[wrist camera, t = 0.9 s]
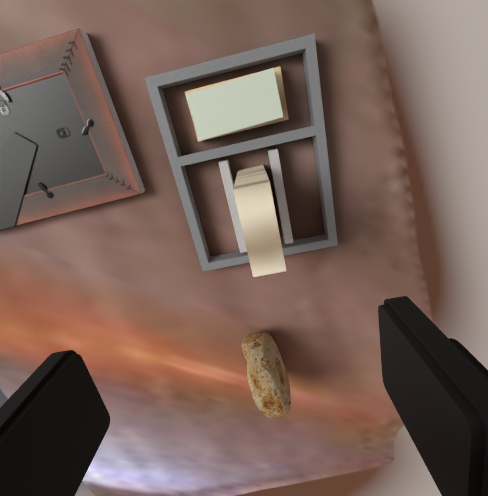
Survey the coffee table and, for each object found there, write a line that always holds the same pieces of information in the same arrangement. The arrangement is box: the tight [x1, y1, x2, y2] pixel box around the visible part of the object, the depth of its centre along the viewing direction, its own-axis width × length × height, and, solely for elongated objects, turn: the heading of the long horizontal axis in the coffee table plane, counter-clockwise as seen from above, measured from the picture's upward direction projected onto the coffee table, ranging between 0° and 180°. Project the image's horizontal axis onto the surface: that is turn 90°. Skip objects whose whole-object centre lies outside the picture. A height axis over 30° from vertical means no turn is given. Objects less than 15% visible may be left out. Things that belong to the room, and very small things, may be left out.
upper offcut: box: [186, 68, 283, 141], centre depth 30 cm, size 4×9×2 cm, turn 105°
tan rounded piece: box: [242, 332, 291, 418], centre depth 40 cm, size 10×4×10 cm, turn 25°
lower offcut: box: [185, 66, 289, 142], centre depth 32 cm, size 5×10×2 cm, turn 103°
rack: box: [145, 33, 338, 271], centre depth 34 cm, size 22×17×2 cm
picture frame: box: [0, 28, 145, 230], centre depth 34 cm, size 16×2×22 cm
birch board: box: [233, 165, 286, 277], centre depth 31 cm, size 8×3×12 cm, turn 12°
